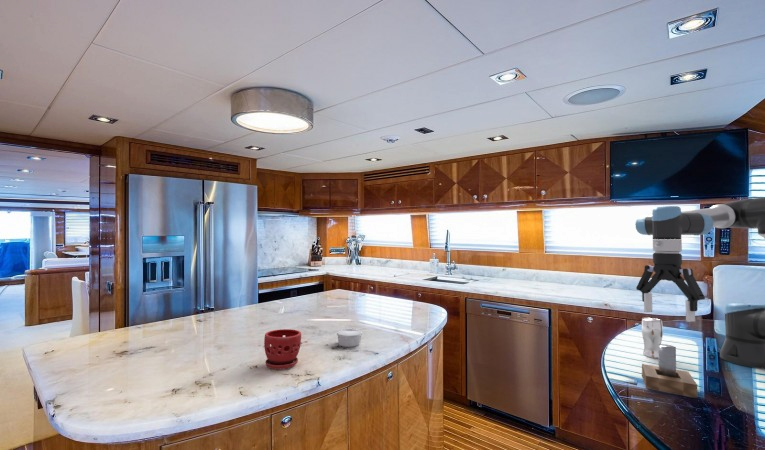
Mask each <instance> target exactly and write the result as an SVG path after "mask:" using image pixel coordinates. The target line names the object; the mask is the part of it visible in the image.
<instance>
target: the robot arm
mask: <svg viewBox="0 0 765 450" xmlns="http://www.w3.org/2000/svg"><path fill="white" fill-rule="evenodd" d="M713 228H716V229H727V228H730V229H731V228H733V229H735V228H736V229H756V230H757V235H759V236H760V237H762V238H763V239H765V197H756V198H755V197H753V198H745V199H744V198H743V199H739V200H733V201H730V202H725V203H719V204H715V205H711V207H709V208H707V207H706V208H699V209H693V210H691V209H690V210H684V211H682V208H681V207H680V206H676V205H668V206H667V205H666V206H664V205H663V206H657V207H656V206H655V207H653V209H652V213H651V214H650V215H649V214H648V215H641V216H639V217H638V218H637V219H636V221H635V230H636V231H637V233H639V234H640V235H642V236H643V235H644V236H652V251H653V253H652V263H653V264H654V265H651V264H648V265H647V264H645V265H644V270H643V273H642V275H641V277H640V279H639V281H638V283H637V286H636V290H637V291H639V292H641V299H642V300H641V301H642V302H643V312H645V313H653V293H652V290H653V289H654V288H655V287H656V286H657V285H658V283H660V281H668V282H672V283H674V284H675V286H677V287H678V289H679V290H680V291H681V292H682V294H683V295H684V296H685V298H687V299H686V300H685V322H687V323H688V322H689V323H690V322H696V312H697V311H698V302H699V301H702V300H705V299H706V297H705V295H704V293H703V292H702V289H701V288H700V286H699V284H698V282H697V280H696V278H695V276H694V270H693V268H682V264H683V255H682V254H681V252H682V251H683V243H682V236H701V235H702V236H703V235H707V234H709V233H710V232H711V231H712V229H713ZM653 273H654V274H653ZM682 276H683V277H682ZM724 325H725V328H724V330H725V332H724V333H725V339H724V342H723V344H722V346H721V349H720V350H719V357H720V359H722V360H724V361H726V362H729V363H733V364H736V365H740V366H744V367H749V368H756V369H765V304H764V303H749V302H747V303H744V302H737V303H736V302H735V303H733V302H731V303H727V304H726V305H725V307H724Z"/></svg>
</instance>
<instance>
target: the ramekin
mask: <svg viewBox="0 0 765 450" xmlns="http://www.w3.org/2000/svg"><path fill="white" fill-rule="evenodd" d="M336 335H337V342H338V344H339V346H341V347H346V348H352V347H357V346H359V345H360V343H361V341H362V335H363V331H362V330H359V329H356V328H355V329H353V328H345V329H340V330H338V331H337V332H336Z"/></svg>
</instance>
